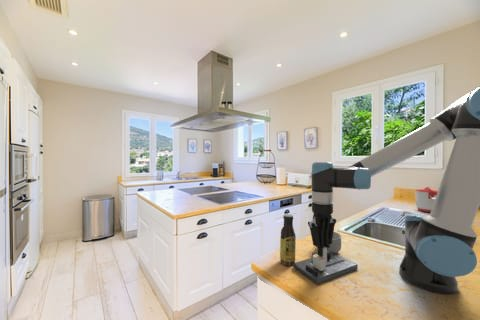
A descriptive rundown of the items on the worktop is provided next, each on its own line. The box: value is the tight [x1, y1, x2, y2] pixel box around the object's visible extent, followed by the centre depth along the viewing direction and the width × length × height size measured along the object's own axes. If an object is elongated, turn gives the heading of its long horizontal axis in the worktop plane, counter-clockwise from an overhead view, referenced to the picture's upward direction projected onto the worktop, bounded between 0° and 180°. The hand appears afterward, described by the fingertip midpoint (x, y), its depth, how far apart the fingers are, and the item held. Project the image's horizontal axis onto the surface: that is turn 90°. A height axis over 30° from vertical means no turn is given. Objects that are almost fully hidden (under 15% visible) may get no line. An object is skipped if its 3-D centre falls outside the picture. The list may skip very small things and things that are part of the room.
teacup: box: [328, 231, 342, 254], centre depth 96 cm, size 14×11×8 cm
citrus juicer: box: [414, 186, 438, 213], centre depth 164 cm, size 16×17×20 cm
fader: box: [313, 255, 326, 271], centre depth 76 cm, size 4×2×4 cm, turn 26°
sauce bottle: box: [279, 214, 297, 266], centre depth 85 cm, size 6×6×20 cm
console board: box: [292, 250, 359, 286], centre depth 80 cm, size 12×22×4 cm, turn 116°
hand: (322, 263), depth 77 cm, fingers closed
